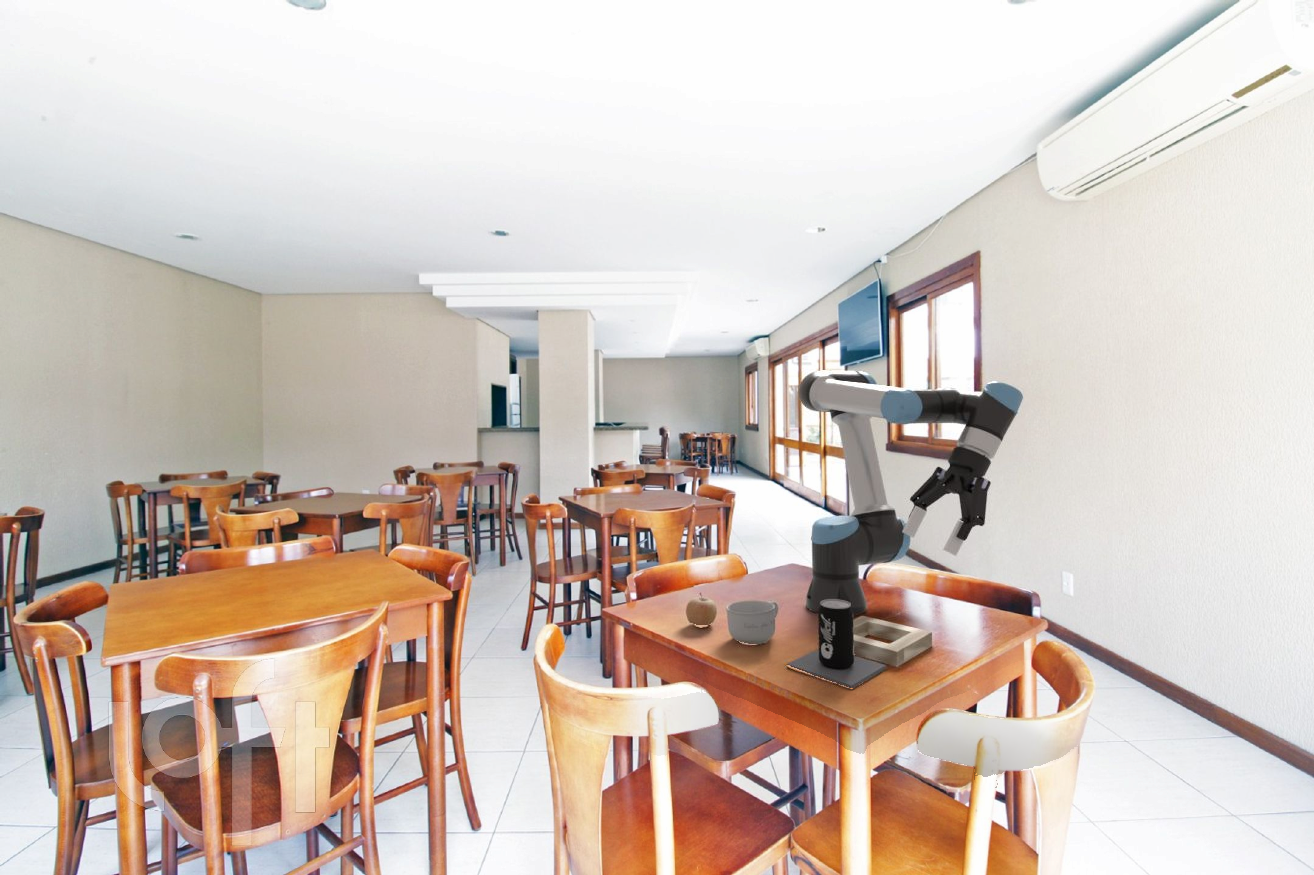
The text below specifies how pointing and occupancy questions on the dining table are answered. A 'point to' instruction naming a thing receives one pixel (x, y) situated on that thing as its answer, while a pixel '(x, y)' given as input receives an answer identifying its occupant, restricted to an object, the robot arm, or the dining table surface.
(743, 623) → the teacup
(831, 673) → the mat
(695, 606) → the fruit
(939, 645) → the dining table surface
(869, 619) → the can holder
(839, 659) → the beverage can
